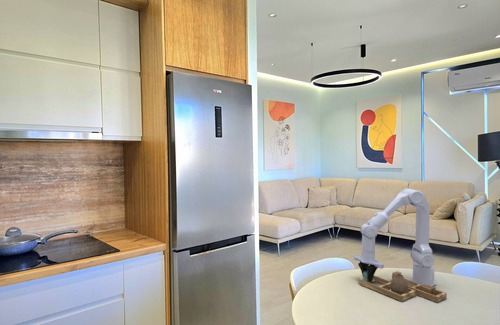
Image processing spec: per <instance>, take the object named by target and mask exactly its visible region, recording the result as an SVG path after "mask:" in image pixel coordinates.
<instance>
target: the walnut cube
mask: <svg viewBox="0 0 500 325" xmlns="http://www.w3.org/2000/svg"><path fill="white" fill-rule="evenodd" d="M436 290H437V289H436V286H430V285H427V284H425V285H422V286H421V291H424V292H427V293H430V294H433V295H435V294H436ZM435 296H436V295H435Z"/></svg>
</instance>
